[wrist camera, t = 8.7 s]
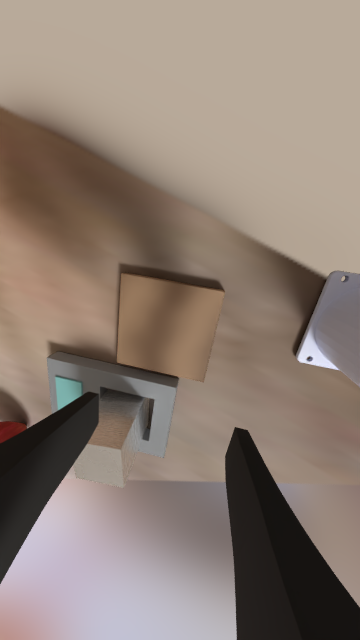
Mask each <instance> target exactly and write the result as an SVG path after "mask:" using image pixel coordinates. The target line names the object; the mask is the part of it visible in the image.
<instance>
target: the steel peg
mask: <svg viewBox="0 0 360 640" xmlns="http://www.w3.org/2000/svg"><path fill="white" fill-rule="evenodd" d="M148 422H149V398H147V397H142V396H138V395H134V394H130V393H126V392H122V391H118V390H113V389H108V390H107V391H106V393H105V394H104V395H103V396H102V398H101V399H100V400H99V423H98V425H97V427H96V429H95V431H94V433H93V435H92V436H91V438H90V440H89V442H88V443H87V445H86V446H85V448H84V449H83V451H82V452H81V454H80V455H79V457H78V458H77V460H76V461H75V463H74V464H73V465H74V470H75V475H76V478H79V479H84V480H89V481H94V482H98V483H104V484H108V485H113V486H118V487H123V488H124V486H125V484H126V481H127V478H128V476H129V473H130V470H131V468H132V465H133V462H134V460H135V457H136V454H137V452H138V449H139V446H140V444H141V441H142V438H143V436H144V433H145V430H146V428H147V425H148Z"/></svg>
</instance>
